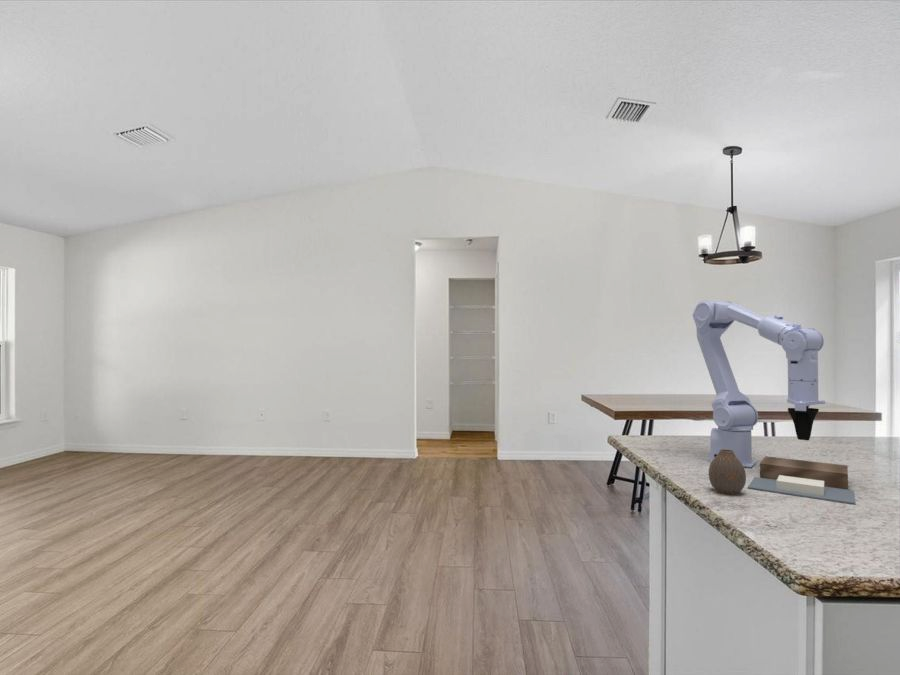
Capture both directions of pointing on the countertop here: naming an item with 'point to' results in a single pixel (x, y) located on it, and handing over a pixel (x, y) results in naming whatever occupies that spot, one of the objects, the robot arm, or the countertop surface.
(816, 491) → the tile
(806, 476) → the block
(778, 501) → the countertop surface
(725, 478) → the vase
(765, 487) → the mat
